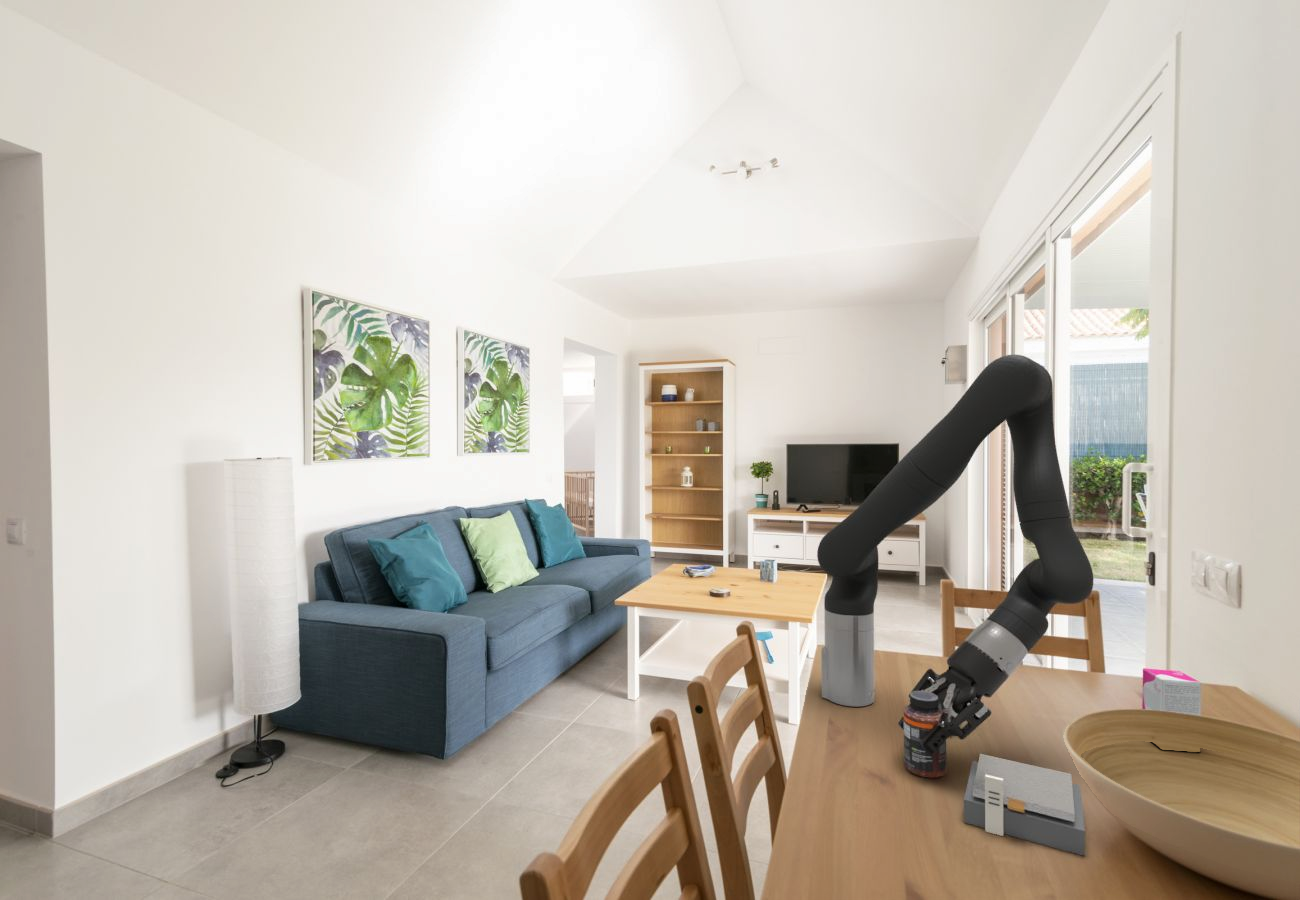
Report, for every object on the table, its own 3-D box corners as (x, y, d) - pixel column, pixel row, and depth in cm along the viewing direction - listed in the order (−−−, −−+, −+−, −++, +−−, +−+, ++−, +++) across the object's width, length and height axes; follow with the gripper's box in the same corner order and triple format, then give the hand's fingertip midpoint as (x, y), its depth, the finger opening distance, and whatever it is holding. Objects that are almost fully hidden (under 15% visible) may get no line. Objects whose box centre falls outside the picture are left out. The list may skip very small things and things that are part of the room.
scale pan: (971, 801, 81) (971, 794, 81) (980, 760, 91) (980, 753, 91) (1075, 828, 75) (1075, 820, 75) (1071, 781, 86) (1071, 774, 86)
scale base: (963, 825, 82) (963, 771, 82) (972, 781, 92) (972, 733, 92) (1085, 859, 75) (1085, 800, 75) (1080, 807, 86) (1079, 755, 86)
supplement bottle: (944, 763, 98) (944, 690, 98) (948, 782, 92) (948, 705, 92) (902, 757, 100) (902, 685, 100) (904, 776, 94) (904, 700, 94)
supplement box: (1202, 754, 100) (1202, 682, 100) (1160, 750, 102) (1160, 679, 102) (1180, 737, 106) (1180, 669, 106) (1140, 734, 107) (1140, 667, 107)
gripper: (944, 627, 104) (875, 703, 103) (1001, 655, 89) (922, 744, 88) (974, 658, 104) (906, 734, 103) (1036, 691, 90) (958, 780, 89)
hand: (914, 738), depth 96 cm, fingers closed on supplement bottle, 6 cm apart
